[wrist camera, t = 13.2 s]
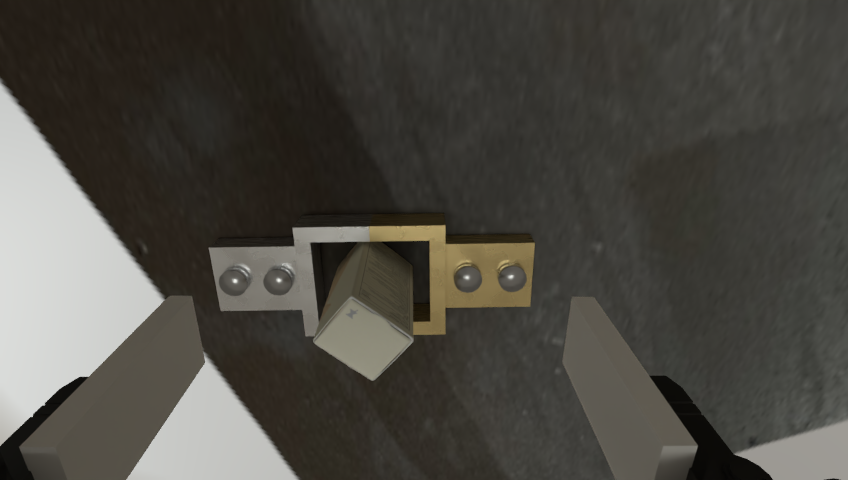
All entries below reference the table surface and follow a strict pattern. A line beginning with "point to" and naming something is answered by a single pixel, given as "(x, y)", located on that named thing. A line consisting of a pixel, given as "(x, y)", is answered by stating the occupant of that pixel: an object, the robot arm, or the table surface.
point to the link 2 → (462, 266)
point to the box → (368, 309)
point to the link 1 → (282, 266)
